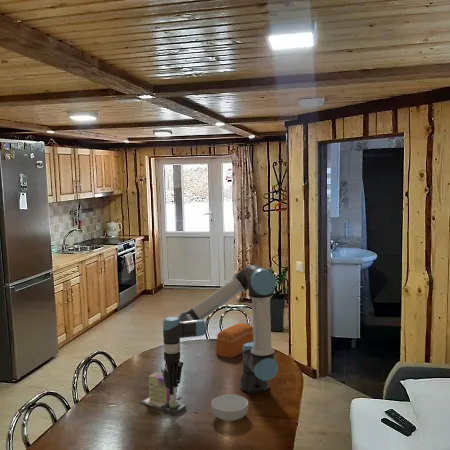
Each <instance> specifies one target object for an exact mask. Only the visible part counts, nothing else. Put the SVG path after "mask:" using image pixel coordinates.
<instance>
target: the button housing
mask: <svg viewBox="0 0 450 450" xmlns="http://www.w3.org/2000/svg"><path fill="white" fill-rule="evenodd" d="M185 411H187V405H186V404H183V403H180V402H178V407H177V408H170V407H169V404H167V405H165V406H163V407H162V409H161V413H162V414H165V415H168V416H171V417H174V418H176V417H177V416H179V415H181V414H182V413H184V412H185Z"/></svg>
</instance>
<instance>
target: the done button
mask: <svg viewBox="0 0 450 450" xmlns="http://www.w3.org/2000/svg"><path fill="white" fill-rule="evenodd" d="M178 403H179V399H178V400H177V401H175V402H174V401H171V400H170V401H169V407H170V408H172V409H176V408H177V407H178Z"/></svg>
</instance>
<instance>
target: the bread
mask: <svg viewBox="0 0 450 450" xmlns="http://www.w3.org/2000/svg"><path fill="white" fill-rule="evenodd" d="M250 342H254V341H253V325H250V324H248V323H244V322H240V323H237V324H234V325H231V326H228V327H227V328H225V329H223V330H221V331H220V332H218V333H217V336H216V342H215V344H216V346H215V350H216V355H218V356H220V357H224V358H234V357H236V356H238V355H242V354H243V351H242V350H243V345H244V344H246V343H250Z"/></svg>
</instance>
